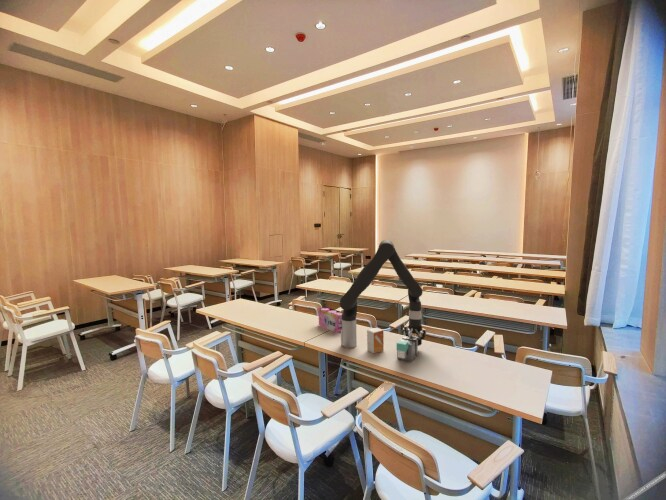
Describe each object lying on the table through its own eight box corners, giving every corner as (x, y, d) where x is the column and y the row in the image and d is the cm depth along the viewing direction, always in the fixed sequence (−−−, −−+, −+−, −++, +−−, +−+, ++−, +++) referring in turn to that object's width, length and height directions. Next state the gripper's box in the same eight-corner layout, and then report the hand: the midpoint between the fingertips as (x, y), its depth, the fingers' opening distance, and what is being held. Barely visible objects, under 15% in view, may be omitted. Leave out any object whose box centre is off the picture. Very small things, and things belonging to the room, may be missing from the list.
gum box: (345, 331, 225) (345, 312, 224) (337, 333, 220) (336, 315, 219) (326, 323, 244) (326, 306, 243) (318, 325, 239) (317, 308, 238)
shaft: (396, 357, 172) (396, 348, 171) (411, 343, 191) (411, 335, 191) (405, 359, 169) (405, 350, 168) (419, 344, 189) (419, 337, 188)
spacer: (396, 349, 171) (396, 342, 171) (400, 346, 175) (400, 340, 175) (405, 351, 168) (405, 344, 168) (408, 348, 172) (408, 341, 172)
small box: (373, 353, 184) (373, 332, 183) (367, 350, 189) (366, 329, 188) (383, 350, 188) (383, 329, 187) (377, 347, 194) (376, 327, 193)
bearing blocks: (397, 358, 177) (397, 342, 176) (403, 352, 185) (403, 336, 184) (411, 362, 172) (411, 345, 171) (417, 355, 180) (417, 339, 179)
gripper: (401, 316, 189) (401, 343, 190) (424, 320, 181) (424, 348, 182) (406, 313, 195) (406, 340, 196) (428, 317, 187) (428, 344, 188)
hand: (415, 344), depth 189 cm, fingers closed on shaft, 5 cm apart
